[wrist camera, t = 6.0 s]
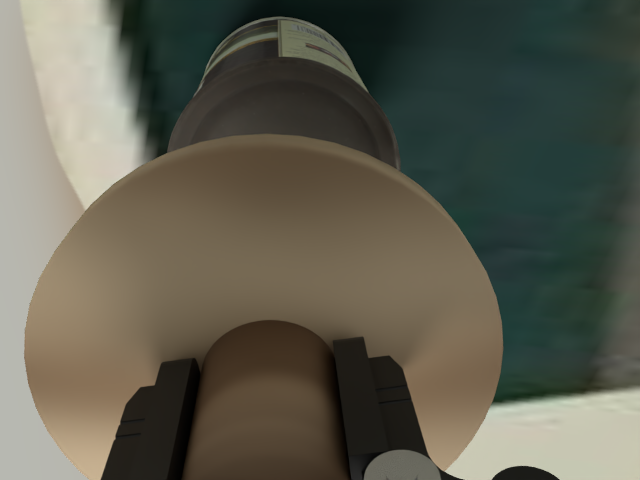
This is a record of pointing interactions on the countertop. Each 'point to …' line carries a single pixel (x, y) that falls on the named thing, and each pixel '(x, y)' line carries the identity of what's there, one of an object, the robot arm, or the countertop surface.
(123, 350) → the lid
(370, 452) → the robot arm
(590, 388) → the countertop surface
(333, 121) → the coffee can
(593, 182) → the countertop surface
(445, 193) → the countertop surface
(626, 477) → the countertop surface
